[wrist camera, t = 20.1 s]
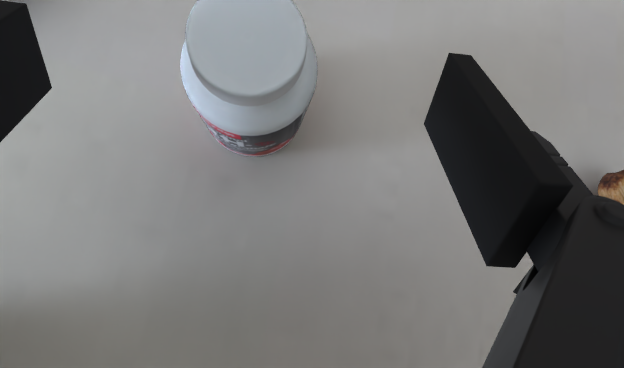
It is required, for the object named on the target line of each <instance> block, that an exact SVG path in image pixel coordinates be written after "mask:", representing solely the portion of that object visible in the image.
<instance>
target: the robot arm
mask: <svg viewBox="0 0 624 368" xmlns="http://www.w3.org/2000/svg"><path fill="white" fill-rule="evenodd" d="M51 88H52V86H51V83H50V80H49V77H48V73H47V70H46V67H45V63H44V60H43V57H42V54H41V50H40V47H39V44H38V41H37V37H36V34H35V31H34V27H33V24H32V21H31V18H30V14H29V11H28V8H27V5H26V4H25V3H16V2H8V1H0V142H1V141H2V140H3V139H4V138H5V137H6V136H7V135H8V134H9V133H10V132H11V131H12V129H13V128H14V127H15V126H16V125H17V124H18V123H19V122H20V121H21V120H22V119H23V118H24V117H25V116H26V115H27V114H28V113H29V112H30V110H31V109H32V108H33V107H34V106H35V105H36V104H37V103H38V102H39V101H40V100H41V99H42V98H43V97H44V96H45V95H46V94H47V93H48V92H49V90H50V89H51ZM424 125H425V127H426V130H427V132H428V134H429V136H430V139H431V141H432V143H433V146H434V148H435V150H436V152H437V155H438V157H439V159H440V161H441V164H442V166H443V168H444V171H445V173H446V175H447V177H448V180H449V182H450V184H451V186H452V189H453V191H454V193H455V195H456V198H457V200H458V202H459V205H460V207H461V209H462V211H463V214H464V216H465V218H466V220H467V223H468V225H469V227H470V229H471V232H472V234H473V236H474V239H475V241H476V243H477V245H478V248H479V250H480V252H481V254H482V257H483V259H484V261H485V264H486V266H494V267H511V268H515V267H516V266H517V265H518V263H519V262H520V260H521V259H522V258H523V256H524V255H525V253H526V252H527V253H528V254H529V256H530V258H531V260H532V262H533V263H534V265H533V266H532V267H531V269H530V270H529V271H528V273H527V274H526V275H525V277H524V278H523V279H522V281H521V282H520V283H519V285H518V286H517V287H516V289H515V290H514V291H513V292H514V293H516V294H517V295H516V297H515V299H514V302H513V304H512V306H511V308H510V310H509V312H508V314H507V316H506V318H505V320H504V323H503V325H502V327H501V329H500V331H499V333H498V335H497V337H496V339H495V341H494V344H493V346H492V348H491V350H490V352H489V354H488V356H487V358H486V360H485V363H484V365H483V367H482V368H624V205H623V204H621V203H619V202H618V201H615V200H612V199H610V198H607V197H603V196H596V195H593V194H592V193H591V191H590V190H589V189H588V188H587V187H586V185H585V184H584V183H583V182H582V180H581V179H580V178H579V177H578V176H577V174H576V173H575V172H574V171H573V170H572V168H571V167H568V163H567V162H566V161H565V160H564V159H563V157H560V154H559V152H558V151H557V150H556V149H555V148H554V146H553V145H552V144H551V143H550V142H549V141H547V140H546V139H545V138H543V137H542V136H541V135H539V134H538V133H536V132H534V131H530V130H529V128H528V127H527V126H526V125H525V123H524V122H523V121H522V120H521V118H520V117H519V116H518V114H517V113H516V112H515V111H514V109H513V108H512V107H511V106H510V104H509V103H508V102H507V100H506V99H505V98H504V97H503V95H502V94H501V93H500V92H499V90H498V89H497V88H496V86H495V85H494V84H493V83H492V81H491V80H490V79H489V78H488V76H487V75H486V74H485V72H484V71H483V70H482V69H481V67H480V66H479V65H478V64H477V62H476V61H475V60H474V59H473V57H472V56H471V55H463V54H454V53H449V55H448V57H447V60H446V63H445V66H444V69H443V71H442V74H441V77H440V80H439V83H438V86H437V88H436V91H435V94H434V97H433V100H432V102H431V105H430V108H429V111H428V114H427V116H426V119H425V122H424Z"/></svg>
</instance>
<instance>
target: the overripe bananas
mask: <svg viewBox="0 0 624 368" xmlns="http://www.w3.org/2000/svg"><path fill="white" fill-rule="evenodd" d="M598 194H599V196H603V197H607V198H610V199H612V200H615V201H618V202H619V203H621V204H623V205H624V170H622V171H620V172H617V173H607V174H606V175H604V176H603V178H602V179H601V181H600V183H599V185H598Z"/></svg>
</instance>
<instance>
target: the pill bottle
mask: <svg viewBox="0 0 624 368" xmlns="http://www.w3.org/2000/svg"><path fill="white" fill-rule="evenodd" d="M180 66H181V77H182V81H183V85H184V88H185V91H186V93H187V96H188V98H189V99H190V101H191V103H192V104H193V106H194V108H195V109H196V110H197V112H198V113H199V115H200V117H201V118H202V119H203V121H204V123H205V124H206V126H207V128H208V129H209V130H210V132H211V134H212V135H213V136H214V137H215V139H216V140H217V141H218V142H219V143H220V144H221V145H223V146H224V147H225V148H227V149H228V150H230V151H232V152H234V153H237V154H239V155H243V156H250V157H259V156H265V155H269V154H272V153H274V152H277V151H278V150H280V149H282V148H283V147H284V146H286V145H287V144H288V143H289V142H290V141H291V140H292V138H293V137H294V136H295V134H296V133H297V131H298V129H299V127H300V125H301V122H302V119H303V117H304V115H305V112H306V110H307V107H308V105H309V103H310V100H311V98H312V96H313V94H314V91H315V86H316V82H317V71H318V70H317V58H316V53H315V49H314V46H313V44H312V41H311V39H310V37H309V35H308V34H307V31H306V26H305V23H304V20H303V18H302V15H301V13H300V12H299V10H298V8H297V7H296V5H295V4H294V3H293V1H292V0H197V2H196V3H195V5H194V6H193V8H192V10H191V12H190V15H189V17H188V20H187V24H186V31H185V42H184V45H183V48H182V53H181V61H180Z"/></svg>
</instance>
